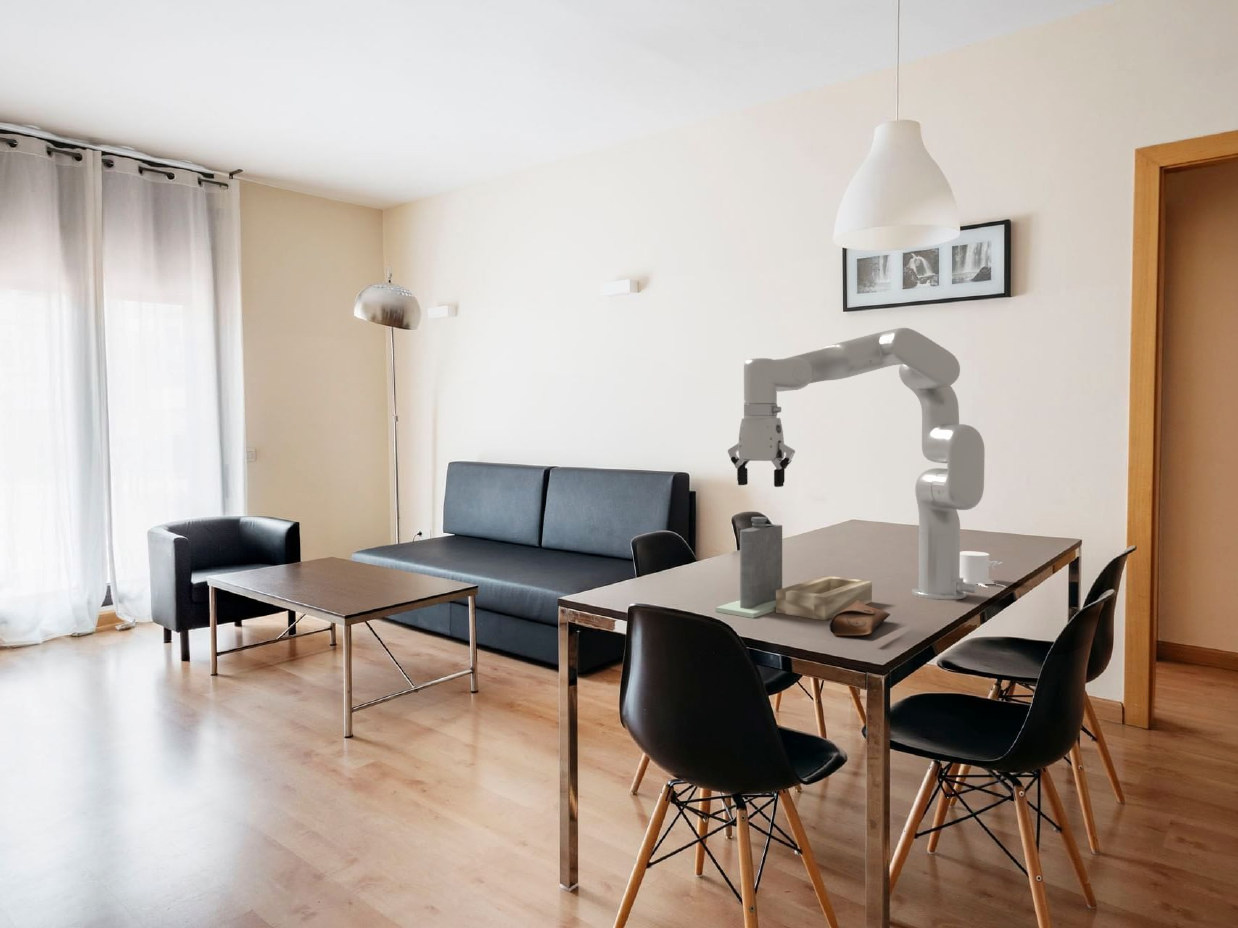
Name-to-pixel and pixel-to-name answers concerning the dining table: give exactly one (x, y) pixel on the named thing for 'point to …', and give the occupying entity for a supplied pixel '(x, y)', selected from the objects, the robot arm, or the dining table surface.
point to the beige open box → (822, 597)
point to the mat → (752, 613)
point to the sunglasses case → (857, 620)
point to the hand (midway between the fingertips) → (760, 485)
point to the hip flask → (760, 563)
